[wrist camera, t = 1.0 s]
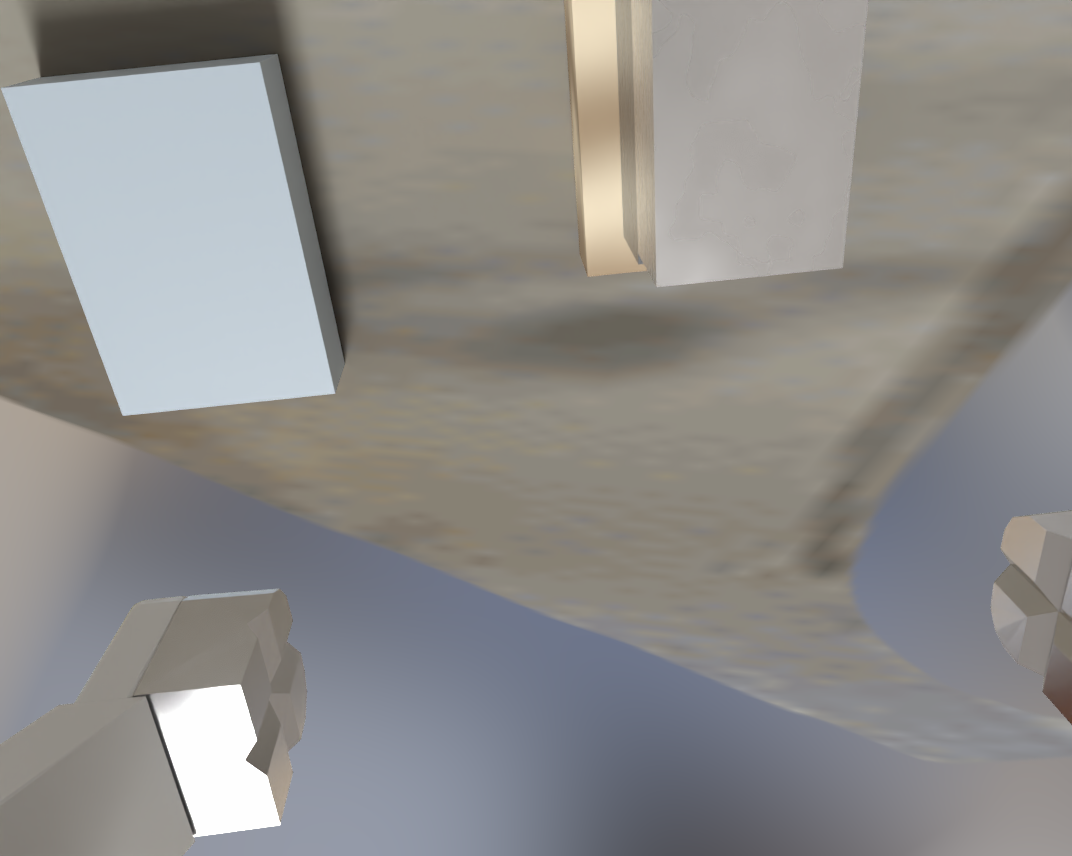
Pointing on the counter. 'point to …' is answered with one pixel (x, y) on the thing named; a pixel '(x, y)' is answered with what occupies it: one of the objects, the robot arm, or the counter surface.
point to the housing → (737, 134)
